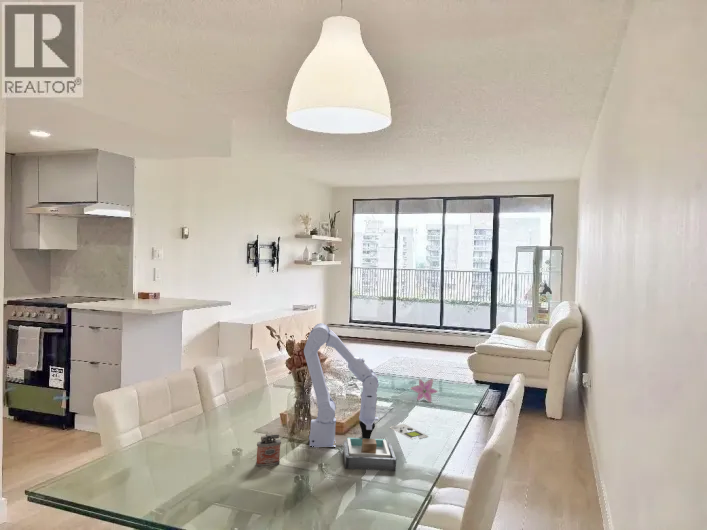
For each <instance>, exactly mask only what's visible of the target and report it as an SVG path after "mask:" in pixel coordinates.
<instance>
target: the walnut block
mask: <svg viewBox="0 0 707 530" xmlns="http://www.w3.org/2000/svg"><path fill="white" fill-rule="evenodd" d="M361 438H362V437H361ZM375 439H376V438H370V439H364V438H362V451H361V453H376V446H377V444H376V440H375Z"/></svg>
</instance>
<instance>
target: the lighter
mask: <svg viewBox="0 0 707 530" xmlns="http://www.w3.org/2000/svg"><path fill="white" fill-rule="evenodd" d="M281 444H282V440H280V433H272V434H270V433H266V434H265V435H261V436H260V441H257V443H256V446H257V449H256V450H257V451H256V461H255V467H256V468H267V467H273V466H278V465H280V463H281V462H280V456H281V454H280V453H281Z"/></svg>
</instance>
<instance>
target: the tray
mask: <svg viewBox="0 0 707 530" xmlns="http://www.w3.org/2000/svg"><path fill="white" fill-rule="evenodd" d="M364 439H369V438H364ZM374 439H375V440H376V444H377V446H376V453H361V451H362V437H347V438H346V441H347V446H348V453H349V456H354V457H378V458H390V456H391V455H390V452H389V449H388V442H387V440H386V439H385V438H374Z"/></svg>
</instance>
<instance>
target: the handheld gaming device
mask: <svg viewBox="0 0 707 530" xmlns="http://www.w3.org/2000/svg"><path fill="white" fill-rule="evenodd" d="M389 429H390V430H393V431H395V432H397V433H398V434H400V435H403V436H405V437H406V438H409V439H411V440H416V439H417V437H418V439H419V440H421V438H422V439H425V438H429V435H427V434H426V433H423V432H421V431H419V430H417V429H415V428H413V427H411V426H409V425H408V424H406V423H402V424H396V425H392V426H390V427H389Z"/></svg>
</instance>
